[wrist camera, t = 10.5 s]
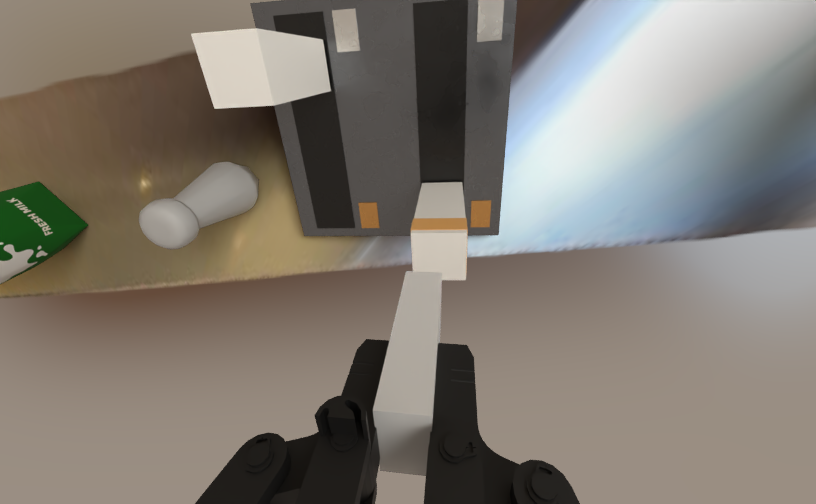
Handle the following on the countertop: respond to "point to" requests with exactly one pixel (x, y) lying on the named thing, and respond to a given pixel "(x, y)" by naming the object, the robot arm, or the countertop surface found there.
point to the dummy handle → (261, 67)
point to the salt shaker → (200, 205)
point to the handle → (440, 231)
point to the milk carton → (33, 228)
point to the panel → (397, 110)
